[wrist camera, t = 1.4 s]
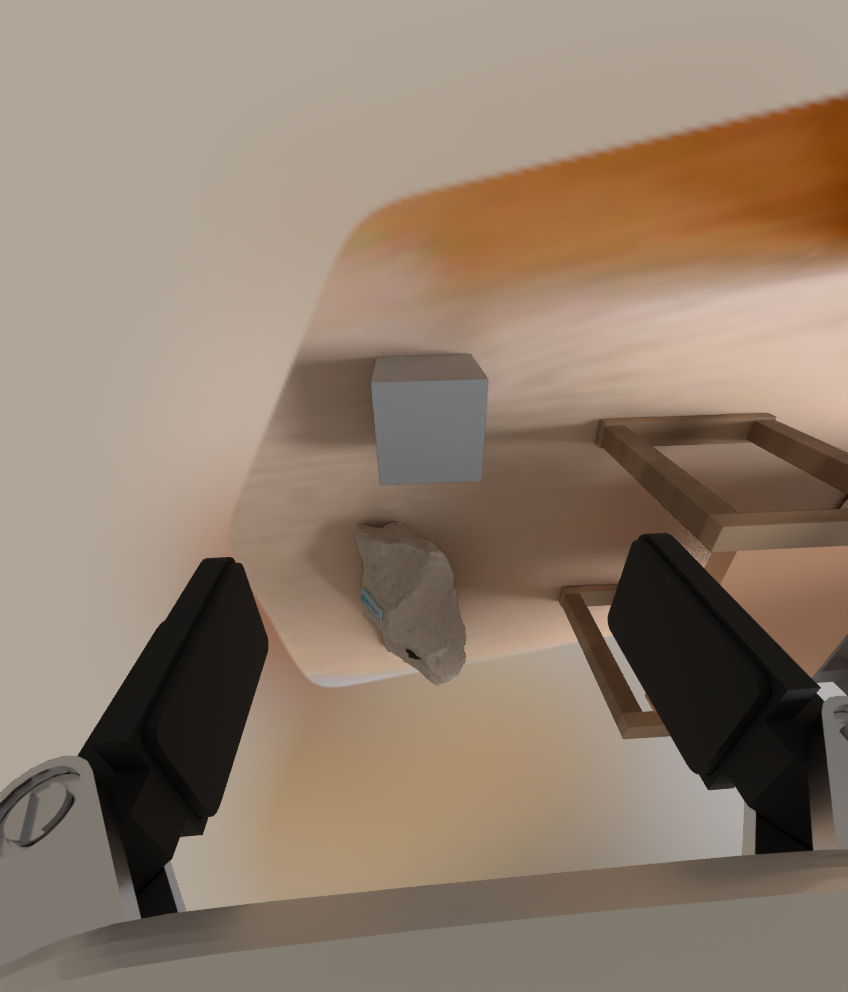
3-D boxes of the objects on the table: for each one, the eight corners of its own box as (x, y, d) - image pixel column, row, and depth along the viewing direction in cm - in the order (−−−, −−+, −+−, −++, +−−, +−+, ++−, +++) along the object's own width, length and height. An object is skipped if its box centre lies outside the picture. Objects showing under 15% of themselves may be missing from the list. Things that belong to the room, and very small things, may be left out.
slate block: (470, 353, 21) (488, 379, 17) (466, 440, 24) (481, 481, 20) (377, 356, 21) (370, 382, 17) (383, 443, 24) (380, 485, 19)
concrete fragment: (377, 649, 34) (372, 721, 28) (346, 514, 26) (332, 579, 21) (459, 641, 34) (470, 712, 28) (452, 504, 26) (464, 566, 21)
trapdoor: (1003, 508, 18) (1103, 550, 16) (860, 666, 24) (915, 715, 22) (705, 521, 18) (757, 566, 15) (636, 679, 24) (664, 731, 21)
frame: (768, 413, 24) (990, 510, 15) (684, 595, 32) (796, 729, 23) (601, 419, 23) (725, 522, 14) (559, 601, 31) (622, 741, 22)
